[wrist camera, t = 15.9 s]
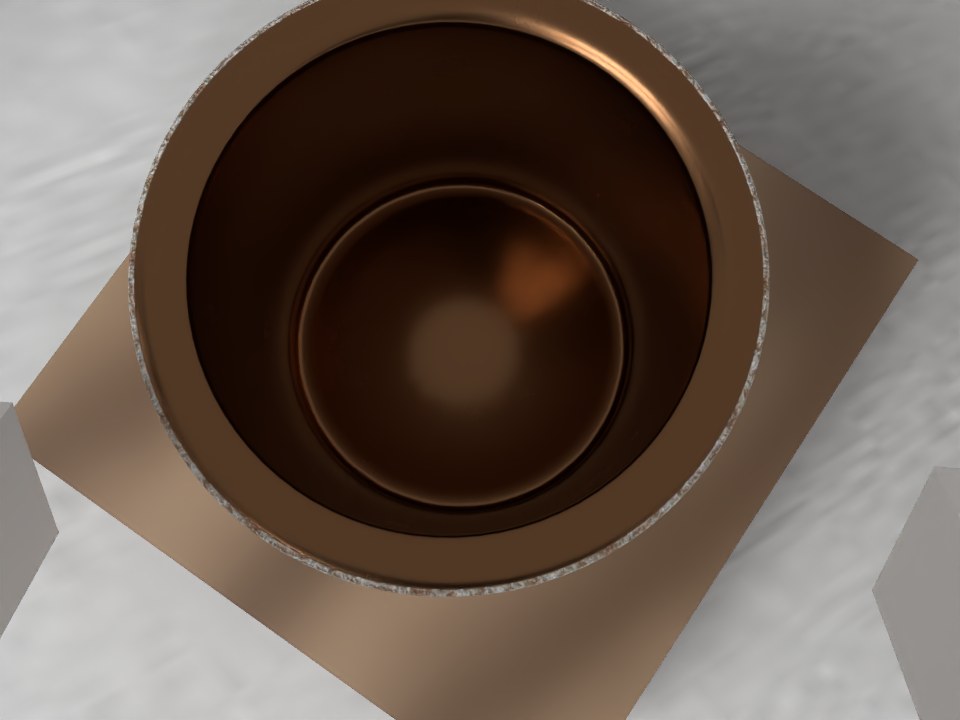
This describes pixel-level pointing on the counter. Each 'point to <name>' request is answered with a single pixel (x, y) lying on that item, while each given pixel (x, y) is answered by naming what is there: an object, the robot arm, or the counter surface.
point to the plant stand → (507, 615)
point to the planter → (448, 288)
